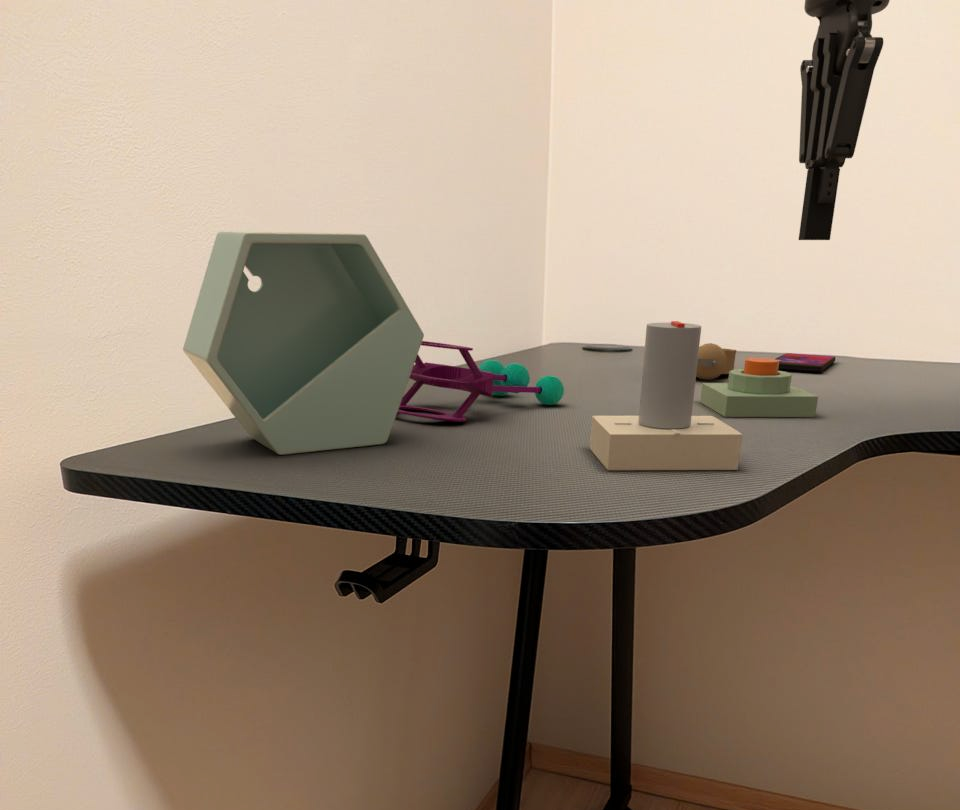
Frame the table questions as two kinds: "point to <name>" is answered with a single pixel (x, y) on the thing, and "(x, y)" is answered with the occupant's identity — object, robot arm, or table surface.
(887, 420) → the table surface
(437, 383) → the purple framed piece
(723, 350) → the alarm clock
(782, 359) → the smartphone
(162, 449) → the table surface
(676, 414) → the cylinder
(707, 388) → the button block
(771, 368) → the button
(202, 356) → the planter
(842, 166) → the robot arm
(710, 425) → the dial panel
